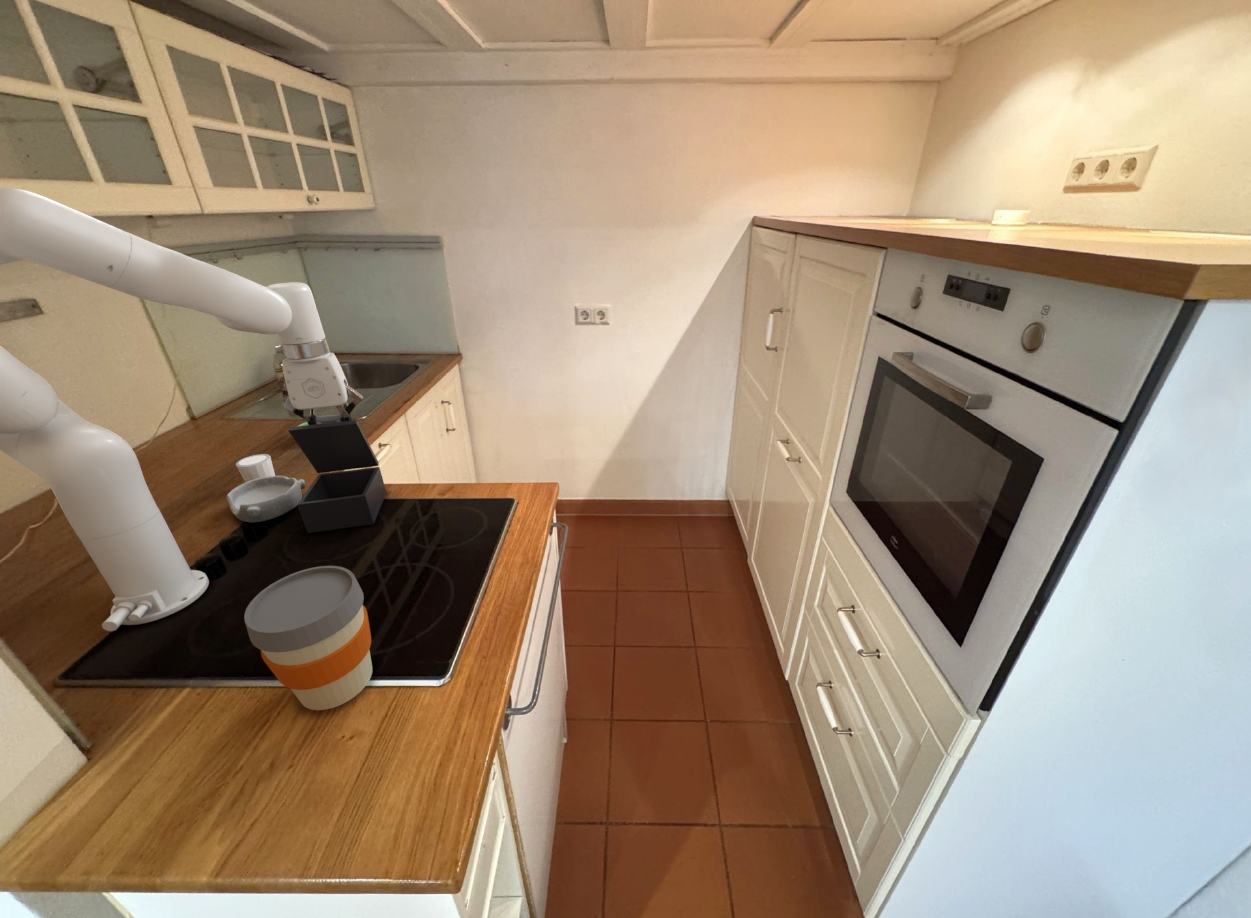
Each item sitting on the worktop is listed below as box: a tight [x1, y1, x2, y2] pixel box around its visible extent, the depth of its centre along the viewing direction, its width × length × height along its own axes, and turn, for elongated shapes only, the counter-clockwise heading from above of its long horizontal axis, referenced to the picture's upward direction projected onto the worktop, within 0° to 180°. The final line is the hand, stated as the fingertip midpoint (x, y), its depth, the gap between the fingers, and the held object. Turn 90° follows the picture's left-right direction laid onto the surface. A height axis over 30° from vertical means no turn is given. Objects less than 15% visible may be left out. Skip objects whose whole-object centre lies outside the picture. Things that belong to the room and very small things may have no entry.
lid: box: [287, 413, 380, 474], centre depth 107 cm, size 14×13×5 cm
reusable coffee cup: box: [243, 565, 373, 711], centre depth 65 cm, size 13×13×15 cm
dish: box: [226, 475, 307, 523], centre depth 110 cm, size 14×14×5 cm
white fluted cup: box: [235, 453, 276, 483], centre depth 119 cm, size 7×7×7 cm
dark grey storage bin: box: [296, 466, 388, 534], centre depth 107 cm, size 14×13×7 cm
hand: (334, 434), depth 105 cm, fingers closed on lid, 5 cm apart
